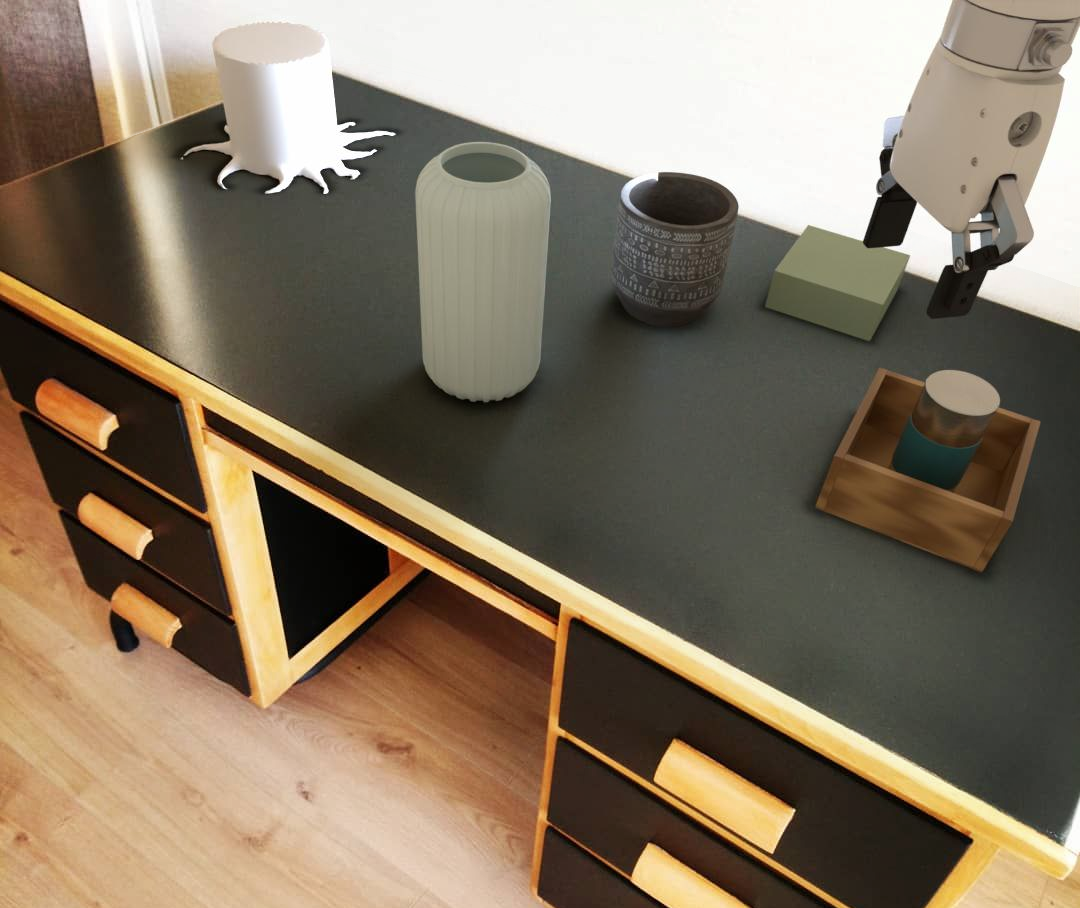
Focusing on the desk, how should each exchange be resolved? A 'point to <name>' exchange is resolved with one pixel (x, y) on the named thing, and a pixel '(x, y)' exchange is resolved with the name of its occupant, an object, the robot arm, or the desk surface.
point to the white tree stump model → (280, 104)
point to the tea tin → (945, 428)
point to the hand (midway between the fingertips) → (912, 278)
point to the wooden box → (920, 508)
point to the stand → (836, 282)
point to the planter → (671, 246)
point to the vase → (482, 269)
